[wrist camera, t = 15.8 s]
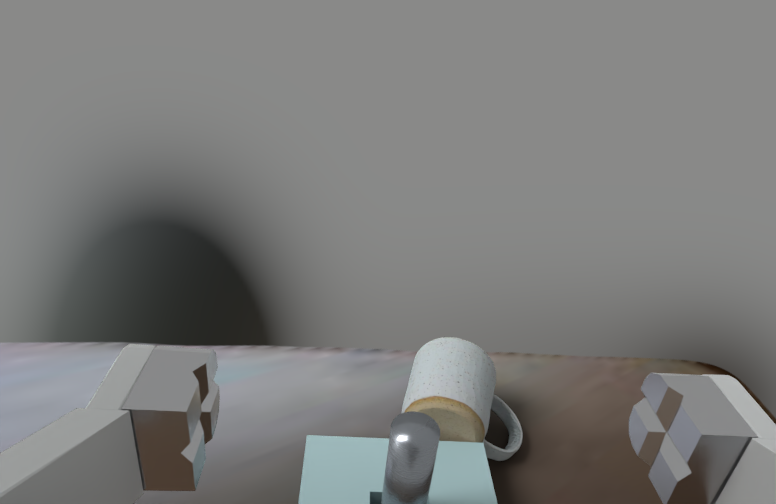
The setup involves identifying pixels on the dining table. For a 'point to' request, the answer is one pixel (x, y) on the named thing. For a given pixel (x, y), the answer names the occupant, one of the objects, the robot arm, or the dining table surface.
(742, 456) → the robot arm
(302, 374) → the dining table surface
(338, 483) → the socket block
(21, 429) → the dining table surface
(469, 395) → the ceramic mug
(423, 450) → the pin
